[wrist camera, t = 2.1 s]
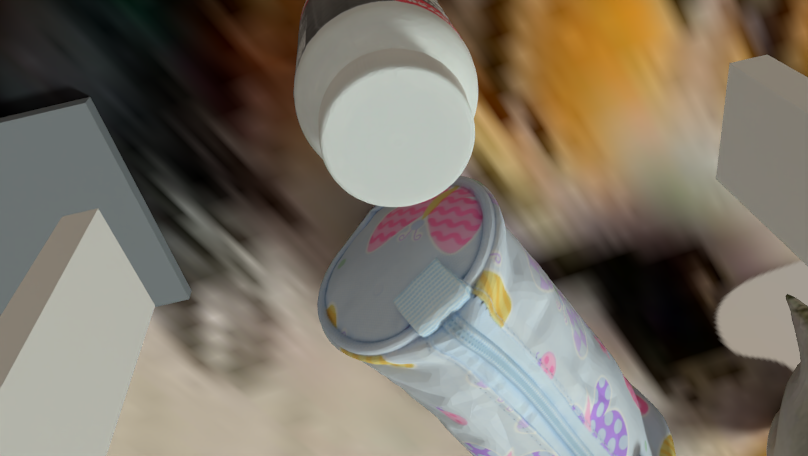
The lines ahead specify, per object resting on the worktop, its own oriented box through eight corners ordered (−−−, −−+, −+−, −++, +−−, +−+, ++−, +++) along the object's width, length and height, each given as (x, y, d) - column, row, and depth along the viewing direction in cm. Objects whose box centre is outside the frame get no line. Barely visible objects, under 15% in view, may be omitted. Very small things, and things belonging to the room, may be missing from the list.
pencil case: (641, 375, 37) (728, 526, 29) (517, 440, 39) (567, 597, 31) (457, 122, 26) (518, 254, 18) (300, 231, 28) (295, 390, 21)
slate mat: (191, 290, 29) (189, 298, 29) (-13, 338, 29) (-18, 347, 29) (89, 96, 24) (85, 102, 23) (-162, 156, 24) (-173, 163, 23)
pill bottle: (439, -50, 22) (511, 28, 14) (440, 91, 25) (499, 222, 17) (288, -41, 22) (273, 46, 14) (307, 102, 25) (304, 242, 17)
